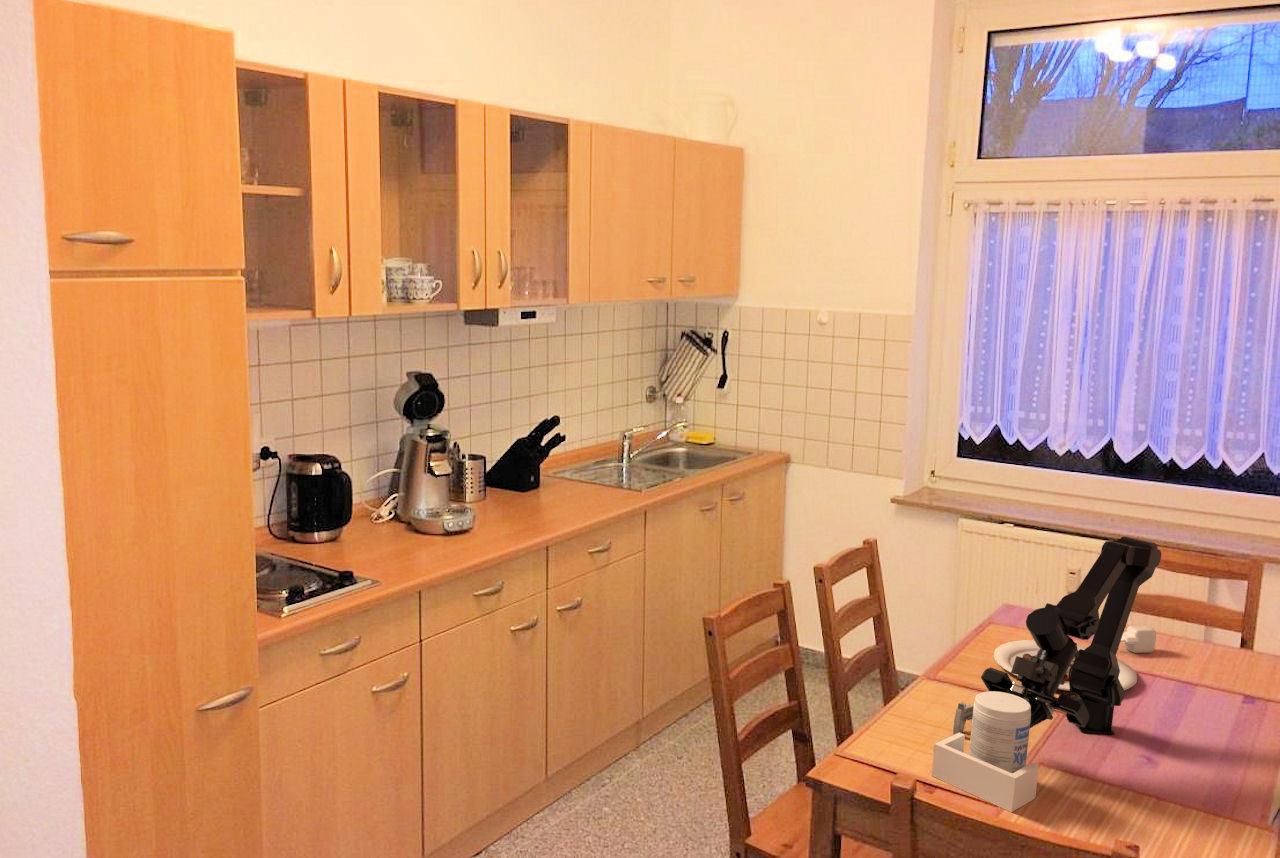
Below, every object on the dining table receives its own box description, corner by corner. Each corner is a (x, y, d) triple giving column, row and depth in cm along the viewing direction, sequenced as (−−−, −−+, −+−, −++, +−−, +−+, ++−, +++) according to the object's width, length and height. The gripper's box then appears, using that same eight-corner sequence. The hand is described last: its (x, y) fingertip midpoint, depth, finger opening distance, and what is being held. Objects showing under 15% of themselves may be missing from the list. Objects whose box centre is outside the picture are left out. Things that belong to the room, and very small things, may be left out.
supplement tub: (1023, 799, 180) (1032, 717, 178) (965, 787, 183) (973, 707, 181) (1023, 773, 189) (1031, 695, 187) (968, 763, 193) (975, 686, 190)
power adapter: (1115, 656, 249) (1118, 632, 248) (1102, 648, 254) (1105, 625, 253) (1156, 654, 252) (1159, 630, 251) (1142, 646, 256) (1145, 623, 255)
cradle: (956, 763, 192) (959, 732, 191) (1035, 798, 181) (1038, 765, 180) (931, 775, 187) (934, 743, 186) (1011, 812, 176) (1015, 778, 175)
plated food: (1145, 668, 243) (1147, 653, 243) (1124, 712, 218) (1126, 696, 218) (1011, 638, 259) (1012, 624, 259) (977, 676, 234) (979, 661, 234)
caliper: (958, 738, 203) (961, 706, 202) (952, 736, 204) (955, 705, 203) (997, 705, 219) (1000, 675, 218) (992, 703, 220) (995, 674, 219)
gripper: (991, 625, 196) (952, 695, 191) (1089, 656, 183) (1050, 733, 177) (1009, 656, 203) (972, 725, 197) (1105, 689, 189) (1068, 764, 184)
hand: (1013, 736), depth 189 cm, fingers closed, pressing on supplement tub
